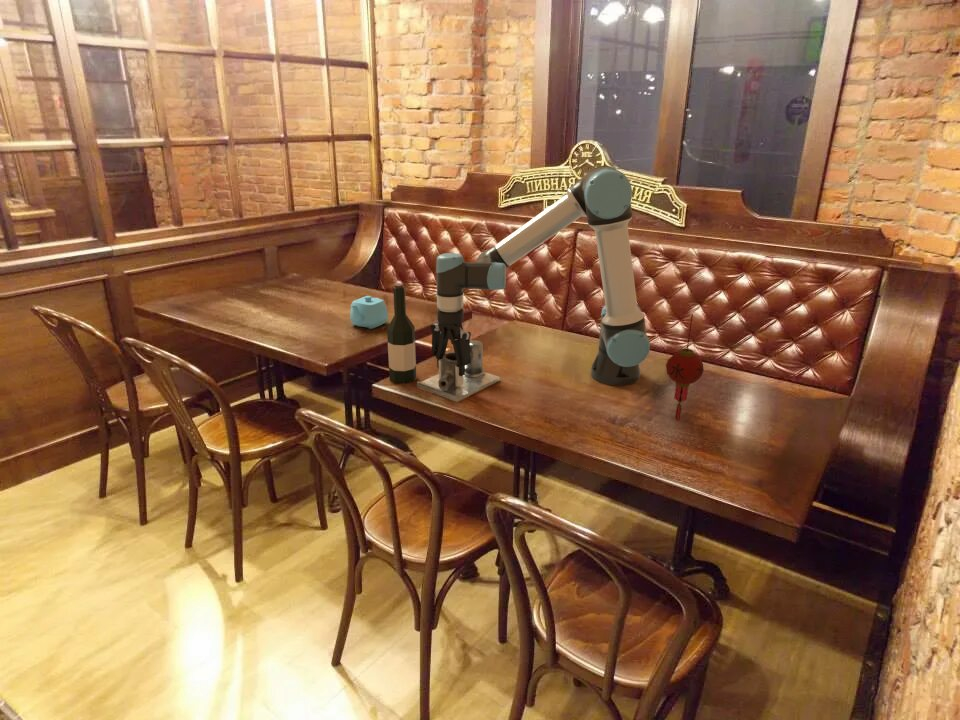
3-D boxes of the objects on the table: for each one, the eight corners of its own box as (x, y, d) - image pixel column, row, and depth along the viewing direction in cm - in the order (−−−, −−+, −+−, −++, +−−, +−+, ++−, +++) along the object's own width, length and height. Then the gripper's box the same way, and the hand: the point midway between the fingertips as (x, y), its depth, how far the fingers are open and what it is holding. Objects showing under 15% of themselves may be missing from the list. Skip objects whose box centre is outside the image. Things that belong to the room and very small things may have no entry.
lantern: (652, 419, 168) (665, 313, 156) (670, 408, 174) (684, 306, 163) (684, 431, 161) (700, 322, 150) (702, 419, 167) (718, 314, 156)
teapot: (339, 330, 234) (337, 300, 230) (368, 317, 249) (367, 289, 245) (365, 335, 229) (363, 305, 225) (394, 321, 244) (392, 293, 239)
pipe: (433, 390, 179) (434, 365, 176) (446, 374, 191) (447, 350, 188) (453, 394, 178) (454, 368, 175) (465, 377, 189) (467, 353, 186)
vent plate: (500, 379, 192) (501, 346, 187) (457, 402, 177) (456, 366, 172) (461, 367, 201) (461, 334, 197) (417, 387, 186) (415, 352, 182)
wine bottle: (391, 385, 187) (386, 289, 176) (387, 374, 195) (382, 282, 184) (418, 382, 189) (415, 287, 178) (414, 372, 197) (410, 280, 186)
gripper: (484, 311, 174) (483, 386, 183) (434, 299, 185) (436, 370, 194) (467, 318, 169) (467, 394, 177) (417, 304, 180) (419, 377, 188)
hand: (451, 381), depth 186 cm, fingers closed on pipe, 6 cm apart
